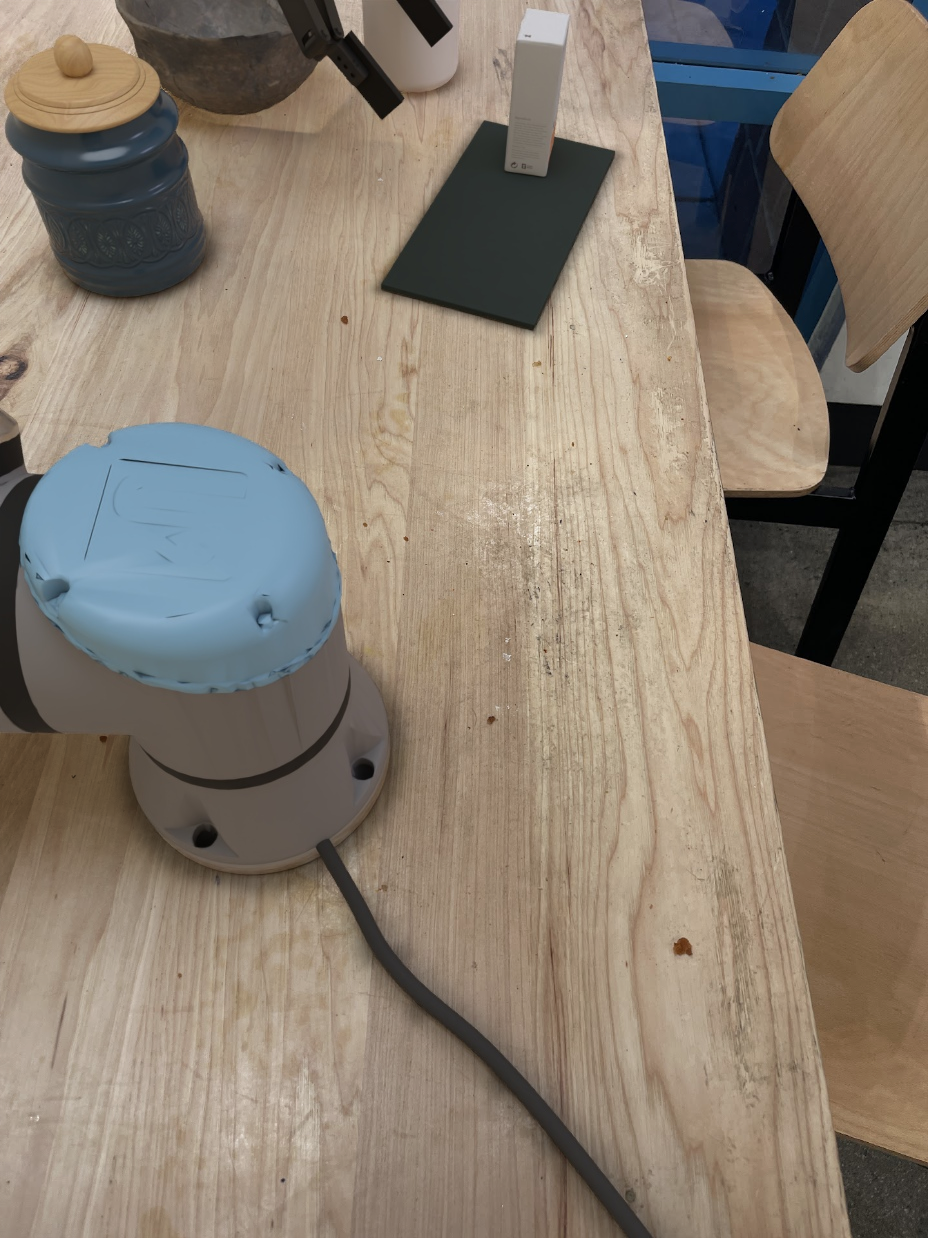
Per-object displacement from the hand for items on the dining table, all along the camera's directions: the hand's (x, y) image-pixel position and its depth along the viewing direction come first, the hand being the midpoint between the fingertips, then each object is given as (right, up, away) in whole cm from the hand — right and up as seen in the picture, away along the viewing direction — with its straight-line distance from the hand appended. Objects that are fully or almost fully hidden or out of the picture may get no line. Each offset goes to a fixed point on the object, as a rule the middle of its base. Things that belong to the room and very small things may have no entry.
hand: (419, 71), depth 80 cm
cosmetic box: (+11, -4, +7) cm, 13 cm away
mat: (+8, -12, +3) cm, 15 cm away
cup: (-2, +9, +16) cm, 19 cm away
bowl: (-19, +6, +13) cm, 24 cm away
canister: (-25, -17, -2) cm, 31 cm away
